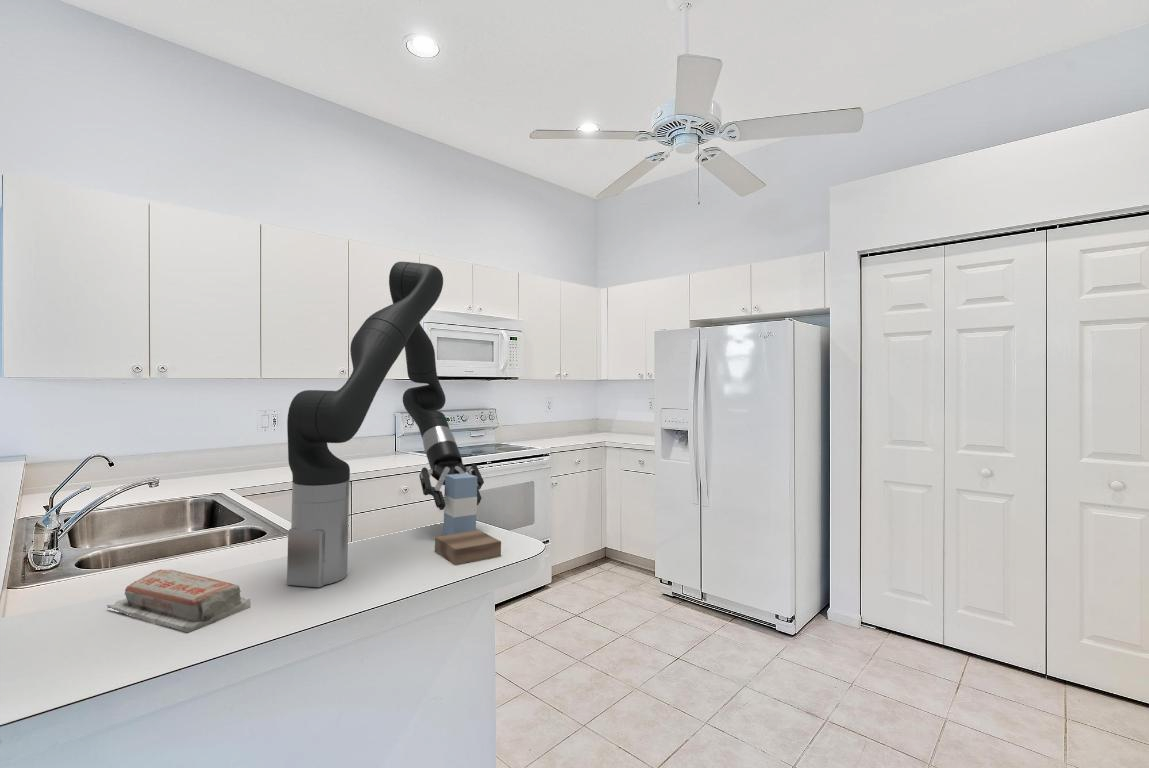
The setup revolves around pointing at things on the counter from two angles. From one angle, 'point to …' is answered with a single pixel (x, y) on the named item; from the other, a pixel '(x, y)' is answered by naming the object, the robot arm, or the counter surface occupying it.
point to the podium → (467, 546)
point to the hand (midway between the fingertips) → (460, 505)
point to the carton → (460, 503)
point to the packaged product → (181, 600)
